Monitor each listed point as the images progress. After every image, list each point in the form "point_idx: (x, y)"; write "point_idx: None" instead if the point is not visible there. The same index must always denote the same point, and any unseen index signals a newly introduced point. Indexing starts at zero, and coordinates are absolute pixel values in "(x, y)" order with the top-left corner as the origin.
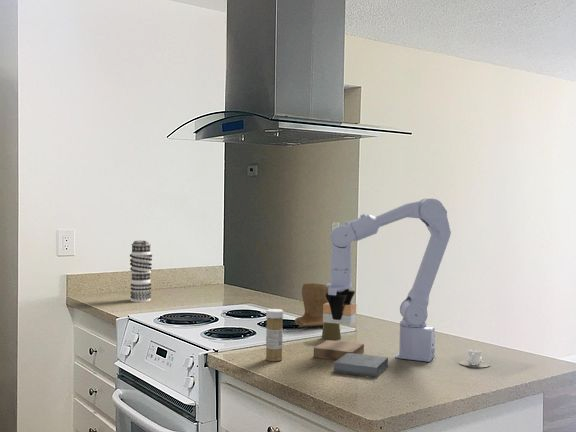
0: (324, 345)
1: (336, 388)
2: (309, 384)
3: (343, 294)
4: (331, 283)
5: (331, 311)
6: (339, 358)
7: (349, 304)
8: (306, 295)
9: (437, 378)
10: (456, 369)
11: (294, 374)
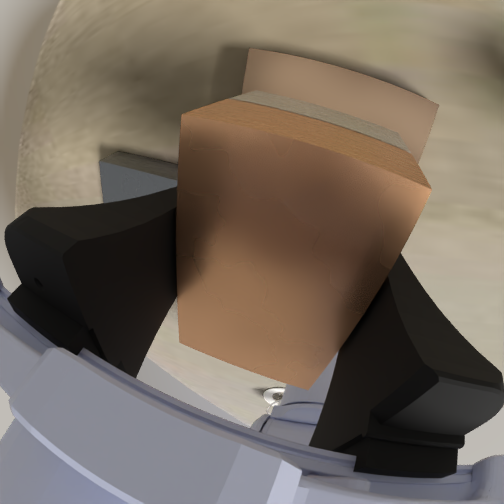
0: (315, 88)
1: (50, 175)
2: (44, 124)
3: (347, 409)
4: (8, 433)
5: (175, 188)
6: (137, 170)
7: (263, 354)
8: None
9: (177, 336)
10: (246, 375)
11: (75, 67)
